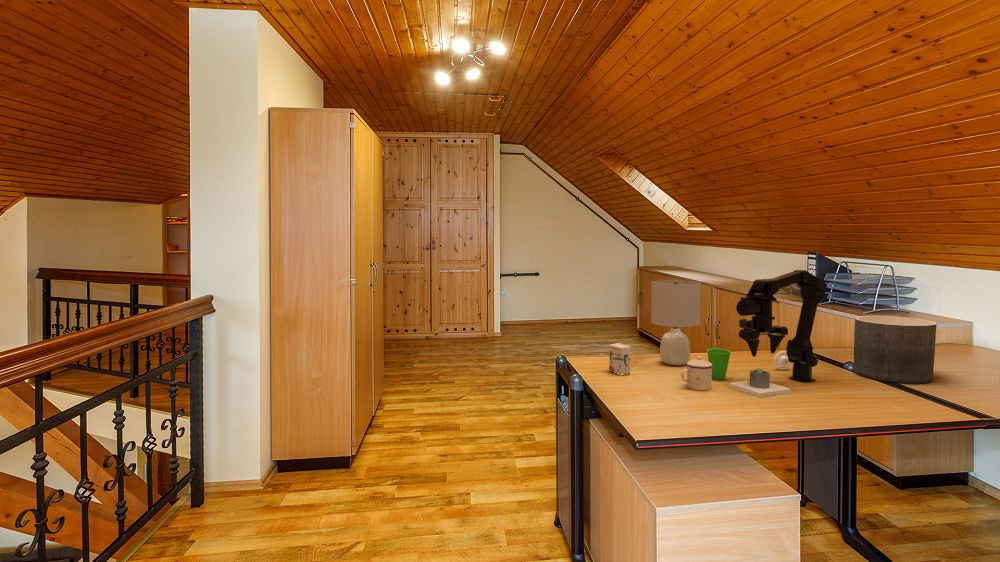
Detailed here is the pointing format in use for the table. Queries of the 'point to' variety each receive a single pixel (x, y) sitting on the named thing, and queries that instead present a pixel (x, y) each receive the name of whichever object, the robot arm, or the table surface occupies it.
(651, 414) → the table surface
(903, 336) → the planter
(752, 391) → the post block
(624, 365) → the ink box
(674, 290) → the lamp
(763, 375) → the steel collar
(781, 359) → the ring around a ball
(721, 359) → the cup
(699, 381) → the teacup with lid
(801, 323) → the robot arm
